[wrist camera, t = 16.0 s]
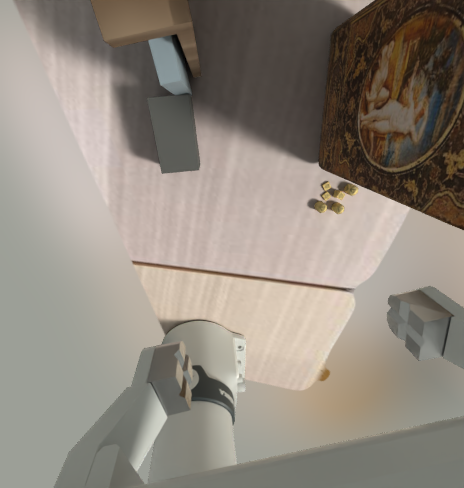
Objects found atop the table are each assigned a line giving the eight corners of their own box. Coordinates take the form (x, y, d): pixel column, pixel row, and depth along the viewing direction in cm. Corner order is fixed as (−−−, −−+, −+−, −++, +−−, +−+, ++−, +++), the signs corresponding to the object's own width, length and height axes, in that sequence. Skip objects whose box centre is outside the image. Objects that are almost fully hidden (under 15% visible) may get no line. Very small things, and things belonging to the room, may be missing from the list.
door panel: (192, 95, 32) (181, 80, 19) (179, 98, 32) (160, 84, 19) (162, -38, 26) (119, -182, 14) (146, -35, 26) (89, -175, 14)
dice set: (353, 184, 39) (360, 187, 38) (338, 214, 41) (344, 219, 40) (324, 175, 38) (329, 178, 37) (310, 207, 40) (315, 211, 39)
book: (331, 21, 30) (705, -274, 7) (377, 20, 30) (871, -269, 8) (317, 166, 37) (482, 241, 15) (354, 164, 37) (571, 234, 15)
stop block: (200, 163, 36) (198, 170, 31) (167, 166, 35) (161, 173, 31) (191, 97, 32) (188, 94, 28) (155, 100, 32) (146, 97, 27)
